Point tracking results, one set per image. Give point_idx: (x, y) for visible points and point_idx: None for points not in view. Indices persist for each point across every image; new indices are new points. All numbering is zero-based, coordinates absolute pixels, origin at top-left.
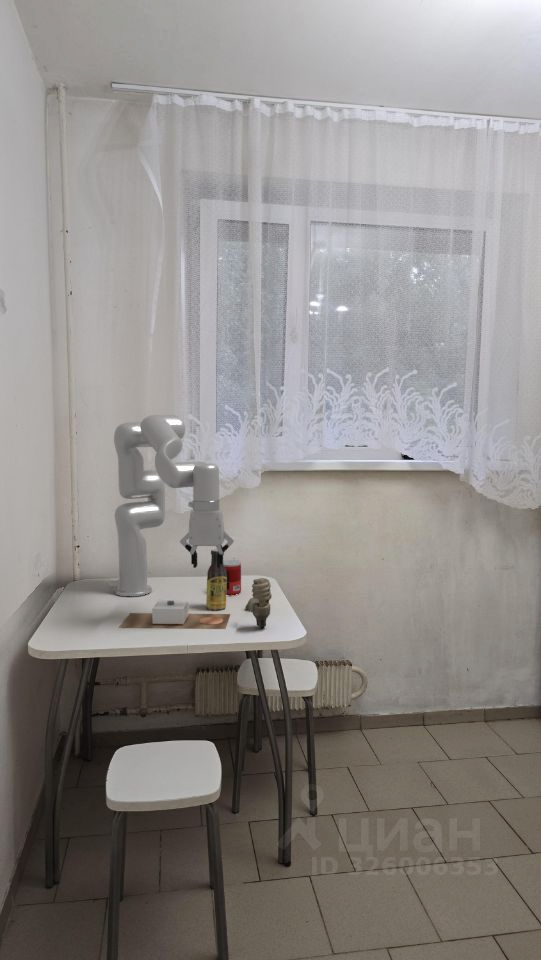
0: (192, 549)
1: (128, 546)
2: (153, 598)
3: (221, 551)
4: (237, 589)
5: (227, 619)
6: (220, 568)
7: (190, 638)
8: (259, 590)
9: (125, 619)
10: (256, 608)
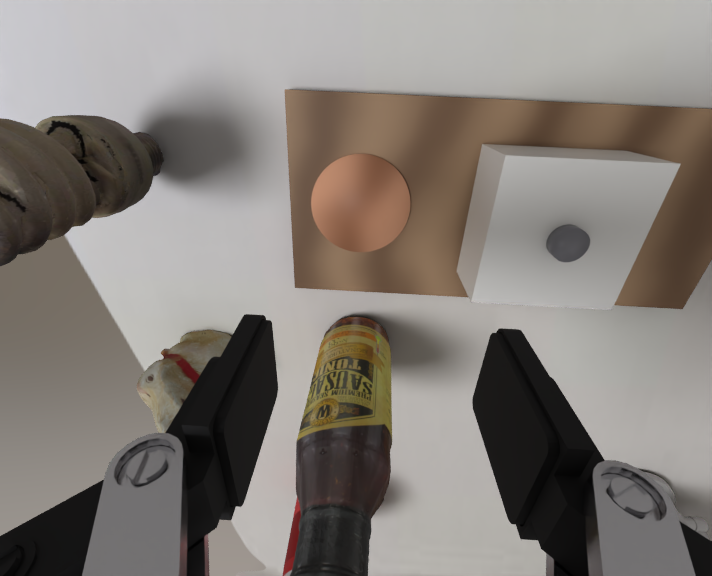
0: (656, 548)
1: None
2: None
3: (132, 482)
4: None
5: (296, 223)
6: (315, 478)
7: (445, 2)
8: None
9: None
10: (93, 124)
